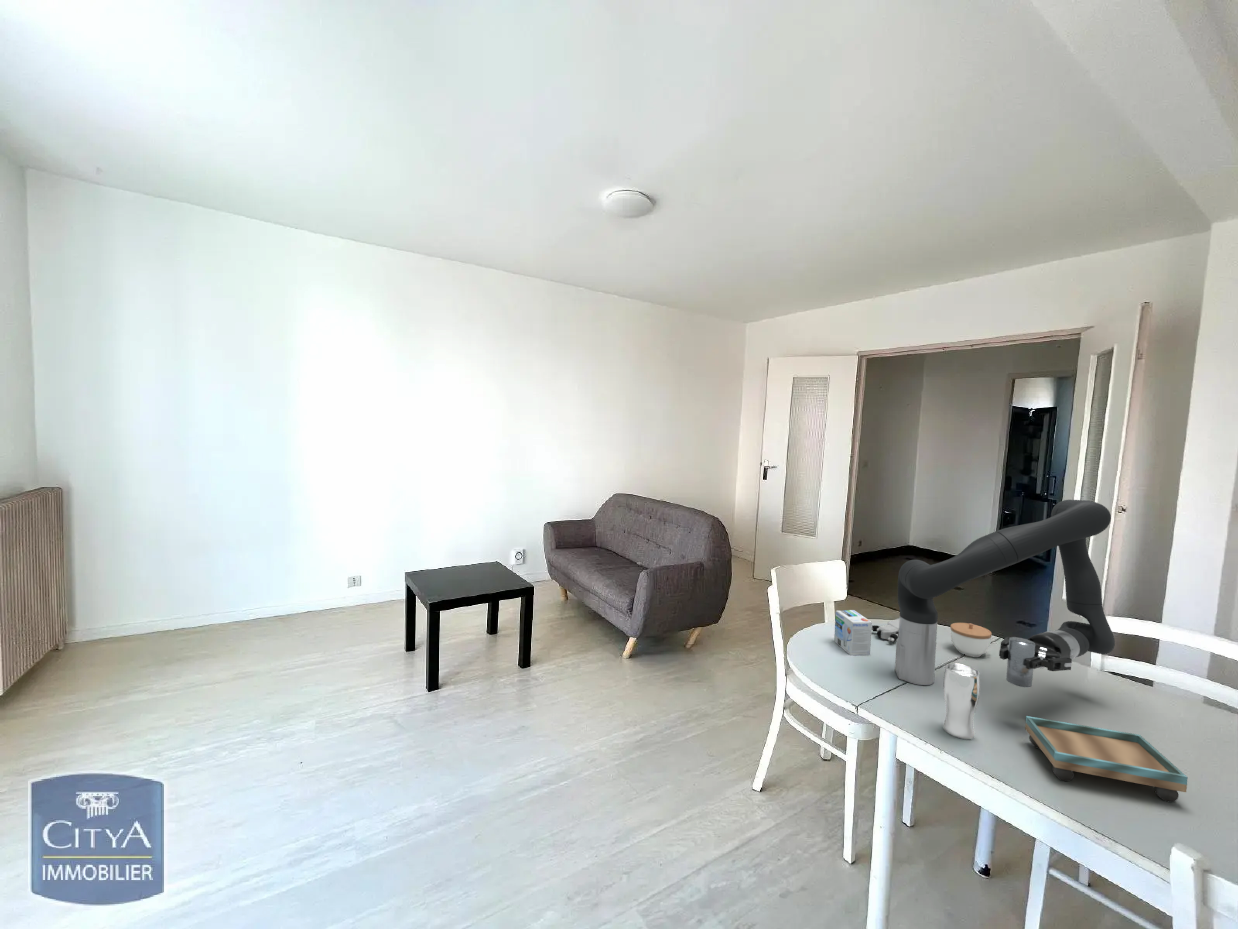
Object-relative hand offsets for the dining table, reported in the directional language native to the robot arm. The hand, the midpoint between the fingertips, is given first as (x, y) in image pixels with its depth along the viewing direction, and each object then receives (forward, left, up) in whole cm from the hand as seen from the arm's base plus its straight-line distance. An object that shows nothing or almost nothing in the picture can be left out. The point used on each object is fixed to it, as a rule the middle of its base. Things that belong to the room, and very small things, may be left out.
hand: (1014, 659), depth 118 cm
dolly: (+11, -12, -17) cm, 23 cm away
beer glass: (-12, -6, -17) cm, 22 cm away
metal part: (+2, +2, -6) cm, 7 cm away
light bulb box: (-31, +35, -17) cm, 50 cm away
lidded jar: (+4, +45, -17) cm, 48 cm away
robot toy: (-16, +50, -17) cm, 55 cm away
